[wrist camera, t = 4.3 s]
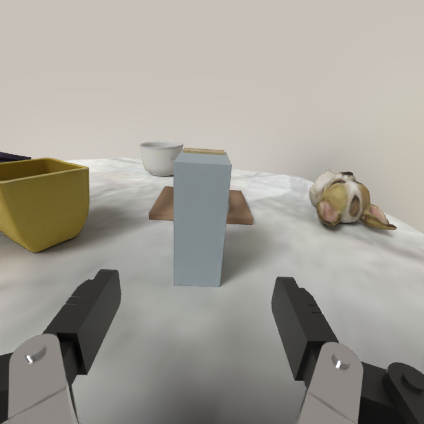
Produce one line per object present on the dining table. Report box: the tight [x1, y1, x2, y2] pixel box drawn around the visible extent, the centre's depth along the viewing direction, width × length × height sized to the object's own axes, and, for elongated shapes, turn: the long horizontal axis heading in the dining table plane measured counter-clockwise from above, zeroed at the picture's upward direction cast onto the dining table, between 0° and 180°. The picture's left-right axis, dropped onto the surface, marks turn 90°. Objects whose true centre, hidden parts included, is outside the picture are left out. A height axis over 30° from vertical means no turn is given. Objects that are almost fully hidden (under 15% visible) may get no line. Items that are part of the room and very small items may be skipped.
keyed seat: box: [149, 186, 253, 225], centre depth 41 cm, size 16×14×3 cm
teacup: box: [140, 141, 183, 176], centre depth 61 cm, size 14×11×8 cm
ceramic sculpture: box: [309, 169, 397, 230], centre depth 39 cm, size 11×9×15 cm
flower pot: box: [0, 158, 89, 252], centre depth 26 cm, size 9×9×9 cm
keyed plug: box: [174, 148, 232, 287], centre depth 23 cm, size 4×6×12 cm
